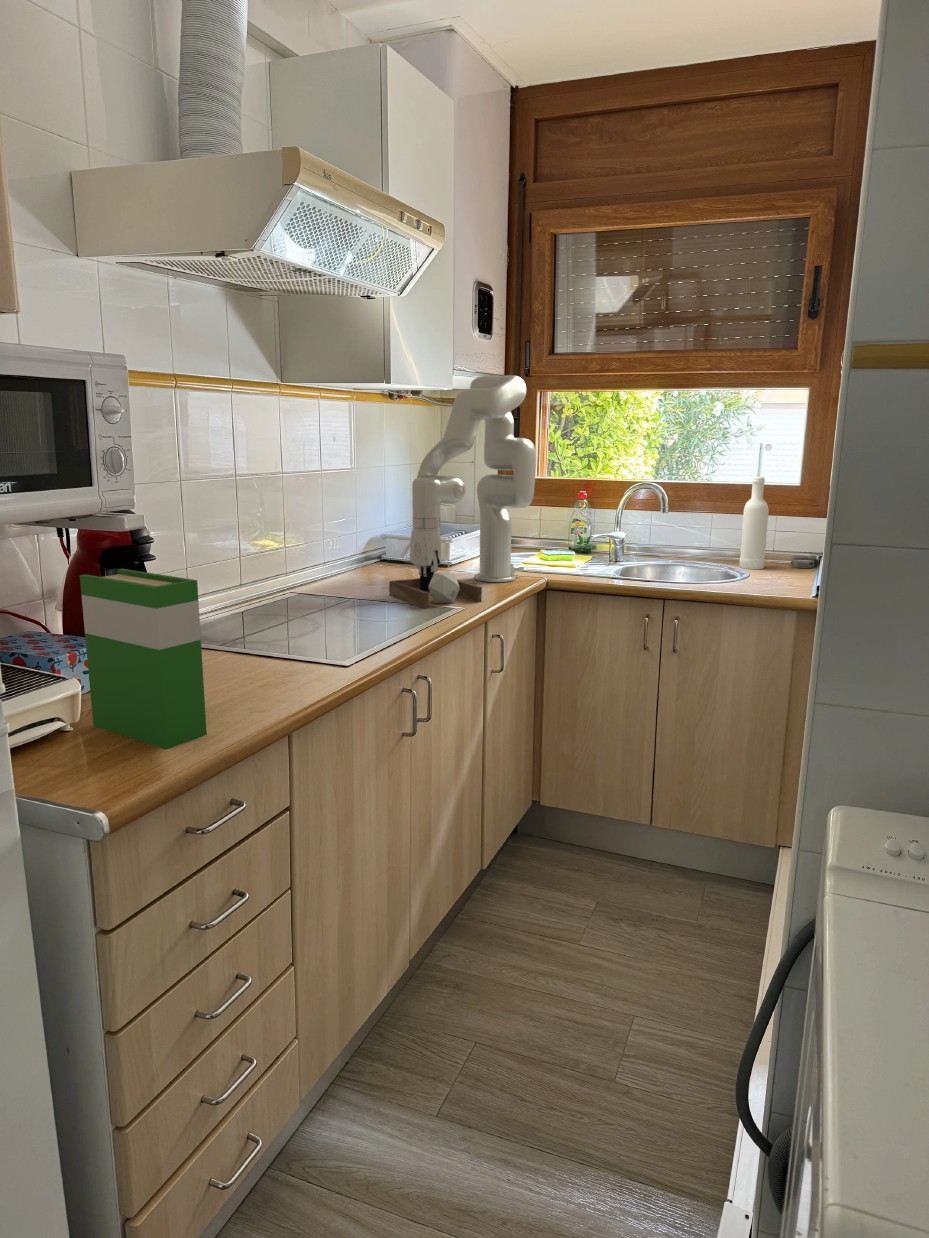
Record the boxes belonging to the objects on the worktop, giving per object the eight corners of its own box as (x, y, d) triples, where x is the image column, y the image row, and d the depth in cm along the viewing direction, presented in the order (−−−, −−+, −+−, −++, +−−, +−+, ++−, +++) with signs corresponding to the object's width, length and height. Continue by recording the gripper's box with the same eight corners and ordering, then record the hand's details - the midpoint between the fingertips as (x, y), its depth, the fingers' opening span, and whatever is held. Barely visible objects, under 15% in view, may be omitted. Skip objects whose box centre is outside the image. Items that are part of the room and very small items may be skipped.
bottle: (746, 565, 299) (753, 476, 292) (768, 567, 294) (775, 477, 287) (734, 567, 293) (741, 476, 287) (757, 570, 288) (764, 478, 282)
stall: (443, 589, 251) (443, 575, 251) (481, 601, 235) (481, 587, 234) (389, 595, 243) (389, 581, 242) (424, 608, 226) (424, 593, 225)
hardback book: (93, 726, 138) (79, 575, 132) (133, 713, 144) (122, 568, 139) (166, 749, 128) (154, 587, 123) (206, 734, 134) (197, 580, 129)
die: (448, 609, 229) (467, 578, 230) (420, 591, 229) (439, 561, 231) (448, 613, 237) (467, 583, 238) (421, 597, 237) (440, 567, 239)
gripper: (401, 522, 242) (401, 587, 246) (427, 527, 230) (428, 596, 234) (425, 520, 246) (425, 585, 250) (452, 526, 234) (452, 593, 238)
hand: (426, 590), depth 242 cm, fingers closed
